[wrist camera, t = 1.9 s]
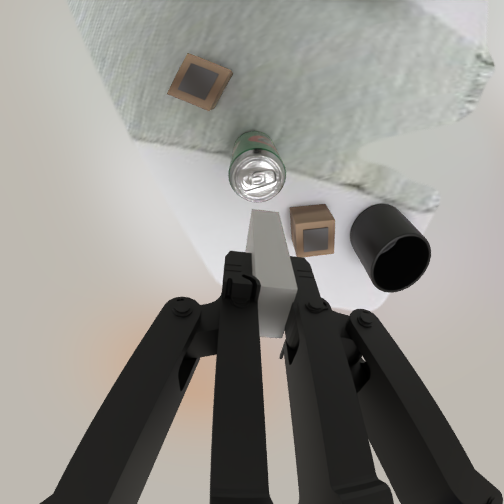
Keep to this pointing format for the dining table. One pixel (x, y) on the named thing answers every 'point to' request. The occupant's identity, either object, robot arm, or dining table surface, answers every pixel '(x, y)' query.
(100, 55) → the dining table surface
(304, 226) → the walnut block
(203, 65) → the walnut block
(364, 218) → the mug
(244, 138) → the soda can
